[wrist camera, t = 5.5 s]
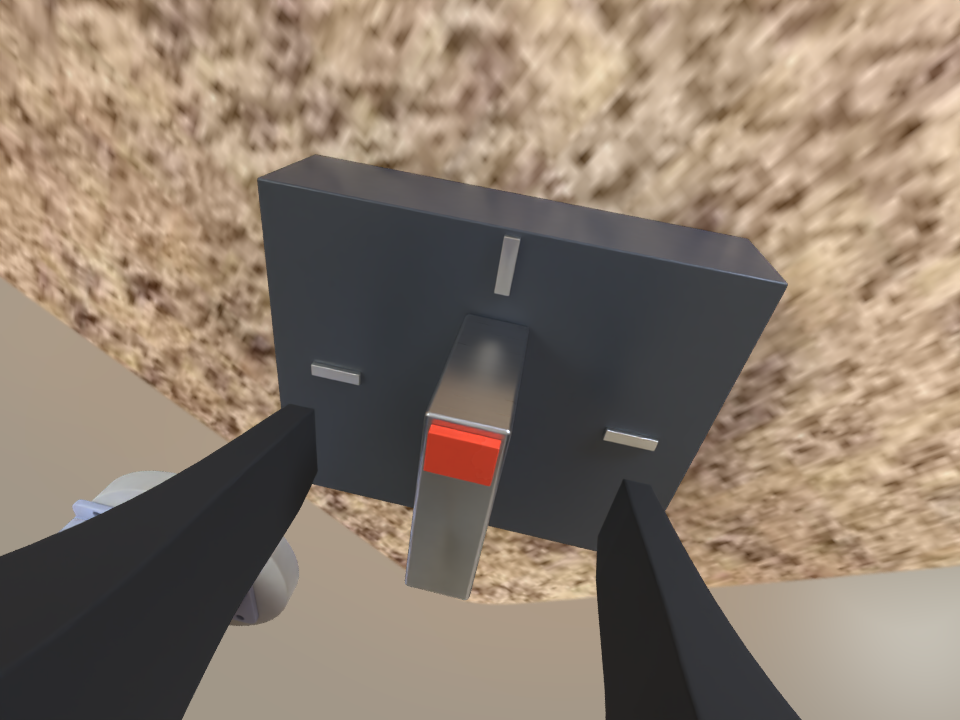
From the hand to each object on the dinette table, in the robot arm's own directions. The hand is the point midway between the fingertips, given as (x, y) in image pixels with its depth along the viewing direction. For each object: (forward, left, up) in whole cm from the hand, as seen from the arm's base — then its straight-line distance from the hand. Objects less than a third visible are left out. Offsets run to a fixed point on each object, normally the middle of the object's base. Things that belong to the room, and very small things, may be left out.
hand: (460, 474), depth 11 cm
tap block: (0, 0, -6) cm, 6 cm away
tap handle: (0, 0, -3) cm, 3 cm away
